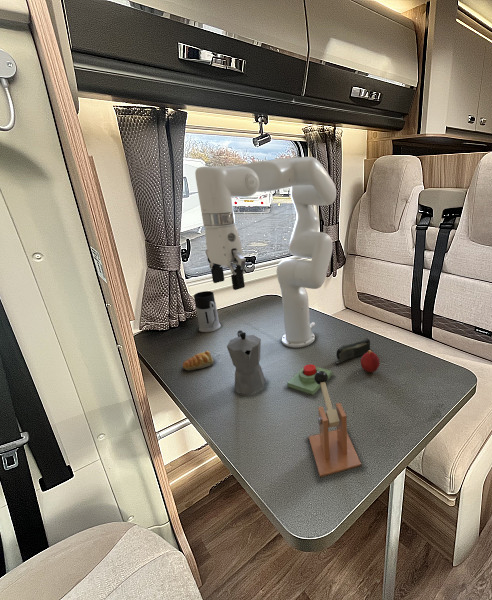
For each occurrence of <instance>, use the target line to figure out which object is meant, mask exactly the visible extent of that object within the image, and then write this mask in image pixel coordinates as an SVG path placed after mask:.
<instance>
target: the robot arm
mask: <svg viewBox="0 0 492 600" xmlns="http://www.w3.org/2000/svg"><path fill="white" fill-rule="evenodd" d="M194 174H195V176H194V177H195V182H196V187H197V188H196V189H197V194H198V200H199V205H200V212H201V217H202V223H203V228H204V231H205V232H204V234H205V244H206V250H205V255H206V258H207V262H208V263H209V266H208V267H209V269H210V272H211V278H212V282H213V284H217V283H221V282H224V281H225V274H224V267H228V269H229V270H230V272H231V274H230V275H231V276H230V277H231V278H230V279H231V285H232V289H233V291H237V290H240V289H244V288H245V286H246V285H245V277H244V273H245V269H246V262H247V260H246V258H245V257H244V252H243V246H242V241H241V238H240V233H239V230H238V227H237V225H236V221H235V213H234V205H233V199H232V198H249V197H252V196H254V195H255V194H256V193H264V192H265V193H266V192H274V191H278V190H282V189H287V188H290V197H291V198H290V199H291V200H292V203H293V206H294V209H295V215H296V219H295V223H294V226H293V230H292V232H291V236H290V240H289V243H288V251H289V253H290V255H292V256H294V257H296V258H285V259H283V260H281V261H279V263H278V264H277V267H276V277H277V281H278V285H279V288H280V293H281V294H280V295H281V301H282V303H281V304H282V313H283V323H284V334H283V335H282V336H281V343H282V344H283V345H284V346H286V347H288V348H294V349H295V348H296V349H297V348H304V347H307V346H309V345H311V344H313V342H315V340H316V336H315V334H314V333H313V332H312V330H313V328H315V327H316V323H315V321H312V322H311V321H310V319H311V318H310V306H309V305H310V304H309V302H310V301H309V294H308V292H307V290H306V289H310V290H311V289H312V290H318V289H320V288H321V287H322V286H323V285H324V282H325V280H326V276H327V273H328V269H329V265H330V263H331V258H332V256H333V250H334V249H333V248H334V244H333V240H332V237H331V236H330V234H328V233H326V232H323V231H319V227H320V218H319V216H318V214H317V212H316V211H315V209H314V206H330V205H332V204H334V202H335V201H336V199H337V188H336V185H335V183H334V180H333V179H332V178H331V176H330V174H329V173H328V171H327V170H326V169H325V166H324V165H323V164H322V163H321V162H320V161H319V159H317V158H316V157H313V156H296V157H284V158H276V159H267V160H259V161H254V162H249V163H243V164H235V165H228V166H199V167H197V168H196V169H195V172H194ZM299 258H301V259H299ZM307 259H311V260H307Z"/></svg>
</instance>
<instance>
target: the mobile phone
mask: <svg viewBox="0 0 492 600" xmlns="http://www.w3.org/2000/svg"><path fill="white" fill-rule="evenodd" d="M369 350H371V340H370V339H369V338H364V339H363V338H362V339H361V340H356V341H354V342H351V343H350V342H349V343H346V344H343V345H342V346H340V347H338V348H337V350H336V358H337V361H336V362H335V365H338V364H340V363H342V362H345V361H348V360H350V359H351V360H352V359H353V358H357V357H361V356H363V355H364V354H365V353H367V352H368V351H369Z"/></svg>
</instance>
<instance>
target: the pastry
mask: <svg viewBox="0 0 492 600" xmlns="http://www.w3.org/2000/svg"><path fill="white" fill-rule="evenodd" d="M214 363H215V362H214V358H213V356H212V354H211V352H210V351H209V350H205V351H202V352H198V353H196V354H194V355H193V356H192V357H189V358H188V359H186V360H185V361H183V363H182V369H183V370H185V371H194V370H200V369H204V368H206V367H210V366H212V365H213V364H214Z"/></svg>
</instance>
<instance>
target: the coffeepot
mask: <svg viewBox="0 0 492 600" xmlns="http://www.w3.org/2000/svg"><path fill="white" fill-rule="evenodd" d="M261 341H262V339H261V338H260V337H258V336H257V335H254V334H248V335H247V333H246V332H243V331H242V330H240V329H239V330H238V331H237V337H235V338H232V339H230V340H229V342H228V343H227V345H226V348H227V351H228V354H229V357H230V359H231V362H232V365H233V366H234V367H235V371H234V392H236V393H237V394H238V395H240V394H254V393H255V392H258V391H259V390H261V389H263V388H264V387H265V384H266V383H267V381H266V378H265V374H264V372H263V369H262V365H261V364H260V360H261V344H262V342H261Z"/></svg>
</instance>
